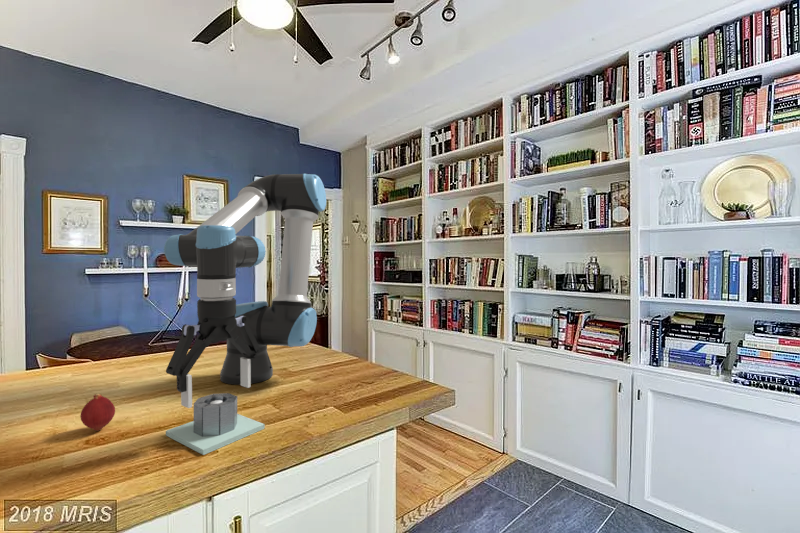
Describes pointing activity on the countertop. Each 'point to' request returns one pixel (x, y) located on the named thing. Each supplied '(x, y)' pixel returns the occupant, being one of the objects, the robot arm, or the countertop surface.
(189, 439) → the post block
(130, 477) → the countertop surface
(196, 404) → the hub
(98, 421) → the onion
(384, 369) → the countertop surface
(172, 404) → the countertop surface
